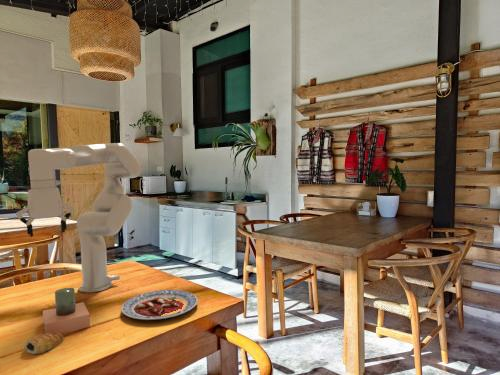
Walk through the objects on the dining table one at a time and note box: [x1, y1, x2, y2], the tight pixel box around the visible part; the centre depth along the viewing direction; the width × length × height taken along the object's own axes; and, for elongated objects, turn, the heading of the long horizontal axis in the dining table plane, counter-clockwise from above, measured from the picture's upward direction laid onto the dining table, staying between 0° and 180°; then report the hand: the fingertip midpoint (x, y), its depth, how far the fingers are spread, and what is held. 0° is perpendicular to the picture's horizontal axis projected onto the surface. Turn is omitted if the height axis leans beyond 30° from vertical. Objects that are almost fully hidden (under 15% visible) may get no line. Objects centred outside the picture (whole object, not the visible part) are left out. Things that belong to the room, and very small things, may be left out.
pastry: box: [24, 332, 65, 355], centre depth 99 cm, size 9×7×4 cm
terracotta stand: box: [42, 301, 91, 334], centre depth 112 cm, size 12×12×4 cm
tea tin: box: [54, 287, 76, 316], centre depth 112 cm, size 6×6×7 cm
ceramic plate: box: [121, 289, 198, 321], centre depth 124 cm, size 26×26×3 cm
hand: (47, 233), depth 123 cm, fingers open, 9 cm apart
